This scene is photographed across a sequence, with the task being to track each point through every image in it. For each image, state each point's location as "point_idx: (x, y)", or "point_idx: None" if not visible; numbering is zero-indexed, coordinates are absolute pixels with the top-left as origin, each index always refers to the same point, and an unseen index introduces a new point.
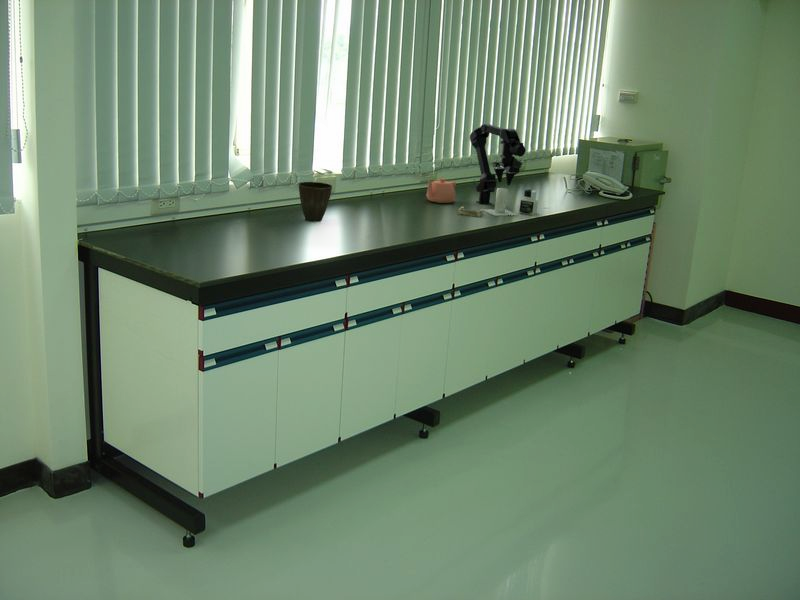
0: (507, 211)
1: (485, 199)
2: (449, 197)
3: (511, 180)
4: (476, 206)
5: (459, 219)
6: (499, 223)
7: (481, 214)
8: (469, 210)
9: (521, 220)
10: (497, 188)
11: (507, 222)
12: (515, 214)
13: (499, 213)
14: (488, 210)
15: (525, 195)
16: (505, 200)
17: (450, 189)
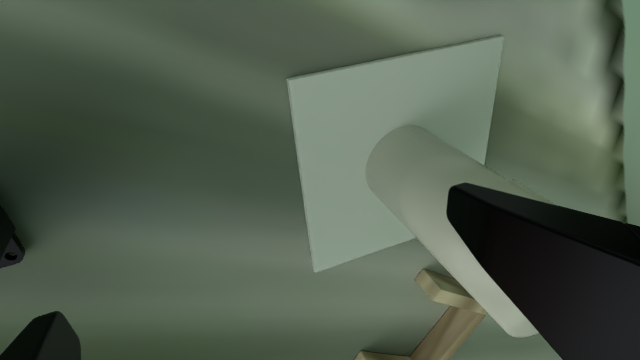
0: (381, 90)
1: (1, 255)
2: None
3: (589, 220)
4: (164, 292)
5: (498, 350)
6: (600, 214)
7: (445, 277)
8: (459, 346)
9: (603, 73)
10: (530, 332)
11: (602, 173)
12: (486, 58)
13: None
14: (347, 232)
15: None
16: (547, 200)
17: None
